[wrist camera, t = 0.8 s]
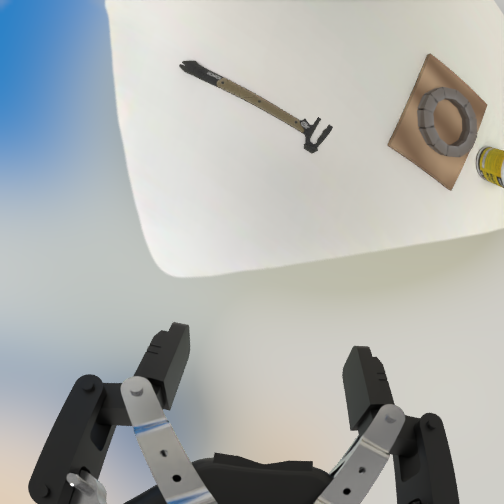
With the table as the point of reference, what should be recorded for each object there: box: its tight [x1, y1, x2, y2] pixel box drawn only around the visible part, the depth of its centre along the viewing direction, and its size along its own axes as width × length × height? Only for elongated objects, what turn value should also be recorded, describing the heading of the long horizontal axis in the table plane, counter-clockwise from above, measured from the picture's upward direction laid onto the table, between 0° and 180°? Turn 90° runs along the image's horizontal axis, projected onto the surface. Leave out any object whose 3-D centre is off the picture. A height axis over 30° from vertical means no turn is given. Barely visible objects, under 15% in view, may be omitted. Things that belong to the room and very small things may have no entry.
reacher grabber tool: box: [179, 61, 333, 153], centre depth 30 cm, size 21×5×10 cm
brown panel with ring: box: [388, 54, 487, 190], centre depth 28 cm, size 16×12×3 cm
